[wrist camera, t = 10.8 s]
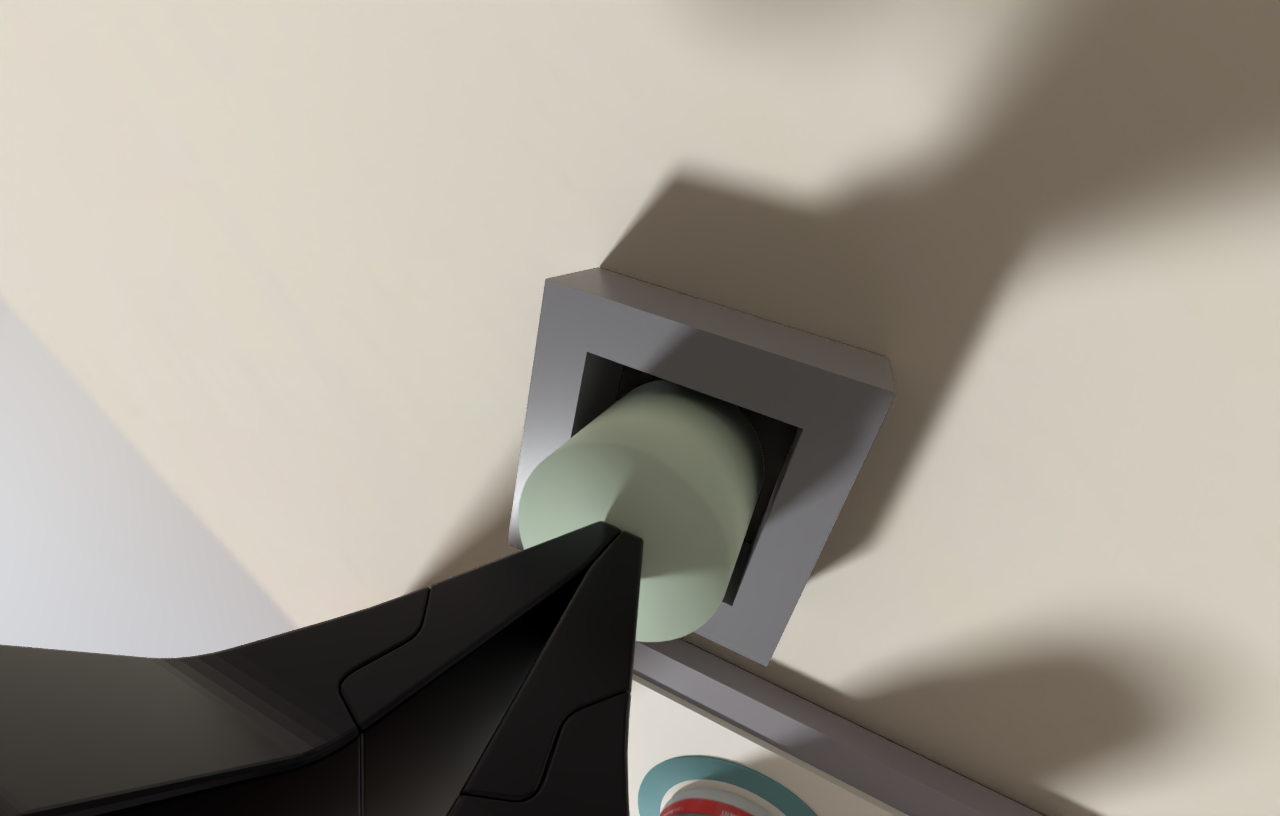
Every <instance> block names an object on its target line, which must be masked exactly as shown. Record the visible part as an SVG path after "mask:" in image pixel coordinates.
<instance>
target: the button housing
mask: <svg viewBox="0 0 1280 816" xmlns="http://www.w3.org/2000/svg"><path fill="white" fill-rule="evenodd" d="M623 365H626V366H628V367H631V368H634V369H637V370H640V371H642V372H645V373H648V374H651V375H654V376H656V377H659V378H662V379H665V380H668V381H670V382H673V383H676V384H679V385H682V386H684V387H687V388H690V389H693V390H696V391H698V392H701V393H704V394H707V395H710V396H712V397H715V398H718V399H721V400H724V401H726V402H729V403H732V404H735V405H738V406H740V407H743V408H746V409H749V410H752V411H754V412H757V413H760V414H763V415H766V416H768V417H771V418H774V419H777V420H780V421H782V422H785V423H788V424H791V425H794V426H796V427H798V429H797V432H796V434H795V437H794V439H793V442H792V444H791V447H790V449H789V452H788V454H787V457H786V459H785V462H784V464H783V467H782V469H781V472H780V474H779V477H778V479H777V482H776V484H775V487H774V489H773V492H772V495H771V497H770V500H769V502H768V505H767V507H766V510H765V512H764V515H763V517H762V520H761V522H760V525H759V527H758V530H757V532H756V535H755V537H754V540H753V542H752V545H751V544H749V543H747V542H744V541H743V543H742V546H741V549H740V552H739V555H738V558H737V561H736V564H735V567H734V570H733V572H732V575H731V578H730V581H729V584H728V587H727V590H726V593H725V596H724V598H723V600H722V602H721V604H720V606H719V608H718V609H717V611H716V612H715V613H714V615H713V616H712V617H711V618H710V619H709V620H708V621H707V622H706V623H705V624H704V625H703V626H701V627H700V628H698V629H697V630H696V631H694V633H696V634H698V635H700V636H703V637H705V638H707V639H709V640H711V641H713V642H715V643H717V644H719V645H721V646H724V647H726V648H728V649H730V650H732V651H734V652H736V653H738V654H740V655H742V656H744V657H747V658H749V659H751V660H753V661H755V662H757V663H759V664H761V665H763V666H765V667H767V666H768V663H769V661H770V659H771V657H772V655H773V653H774V651H775V649H776V647H777V644H778V642H779V640H780V638H781V636H782V634H783V632H784V630H785V628H786V625H787V623H788V621H789V619H790V617H791V615H792V613H793V611H794V608H795V606H796V604H797V602H798V600H799V598H800V596H801V594H802V592H803V589H804V587H805V585H806V583H807V581H808V579H809V577H810V575H811V572H812V570H813V568H814V566H815V564H816V562H817V560H818V558H819V556H820V553H821V551H822V549H823V547H824V545H825V543H826V541H827V539H828V536H829V534H830V532H831V530H832V528H833V526H834V524H835V522H836V520H837V517H838V515H839V513H840V511H841V509H842V507H843V505H844V503H845V501H846V498H847V496H848V494H849V492H850V490H851V488H852V486H853V484H854V481H855V479H856V477H857V475H858V473H859V471H860V469H861V467H862V465H863V462H864V460H865V458H866V456H867V454H868V452H869V450H870V448H871V445H872V443H873V441H874V439H875V437H876V435H877V433H878V431H879V429H880V426H881V424H882V422H883V420H884V418H885V416H886V414H887V412H888V409H889V407H890V405H891V403H892V401H893V399H894V397H895V395H896V390H895V385H894V381H893V376H892V371H891V366H890V362H889V358H888V357H885V356H881V355H878V354H875V353H872V352H868V351H865V350H862V349H859V348H856V347H852V346H849V345H846V344H843V343H840V342H836V341H833V340H830V339H827V338H823V337H820V336H817V335H814V334H811V333H807V332H804V331H801V330H798V329H795V328H791V327H788V326H785V325H782V324H778V323H775V322H772V321H769V320H766V319H762V318H759V317H756V316H753V315H749V314H746V313H743V312H740V311H737V310H733V309H730V308H727V307H724V306H721V305H717V304H714V303H711V302H708V301H704V300H701V299H698V298H695V297H692V296H688V295H685V294H682V293H679V292H676V291H672V290H669V289H666V288H663V287H659V286H656V285H653V284H650V283H647V282H643V281H640V280H637V279H634V278H630V277H627V276H624V275H621V274H618V273H614V272H611V271H608V270H605V269H602V268H598V267H597V268H593V269H588V270H584V271H579V272H575V273H570V274H566V275H561V276H557V277H552V278H548V279H545V286H544V293H543V300H542V307H541V314H540V321H539V328H538V335H537V342H536V348H535V355H534V362H533V369H532V376H531V383H530V390H529V397H528V404H527V411H526V417H525V424H524V431H523V438H522V445H521V452H520V459H519V466H518V473H517V480H516V487H515V493H514V500H513V507H512V514H511V521H510V528H509V535H508V542H507V543H508V544H510V545H512V546H514V547H516V548H519V549H521V550H524V548H523V544H522V541H521V537H520V531H519V522H518V511H519V502H520V497H521V493H522V490H523V488H524V485H525V483H526V481H527V479H528V478H529V476H530V474H531V473H532V471H533V470H534V469H535V468H536V467H537V466H538V464H539V463H541V462H542V461H543V460H544V459H545V458H547V457H548V456H549V455H550V454H552V453H553V452H554V451H555V450H557V449H558V448H559V447H560V446H562V445H563V444H564V443H565V442H567V441H568V440H569V439H570V438H572V437H573V436H574V435H575V434H577V433H578V432H579V431H580V430H582V429H583V428H584V427H585V426H587V425H588V424H589V423H590V422H592V421H593V420H594V419H595V418H597V417H598V416H599V415H601V414H602V413H603V412H604V411H606V410H607V409H608V408H609V407H611V406H612V405H613V404H614V403H615V401H616V396H617V392H618V387H619V383H620V378H621V374H622V369H623Z"/></svg>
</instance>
